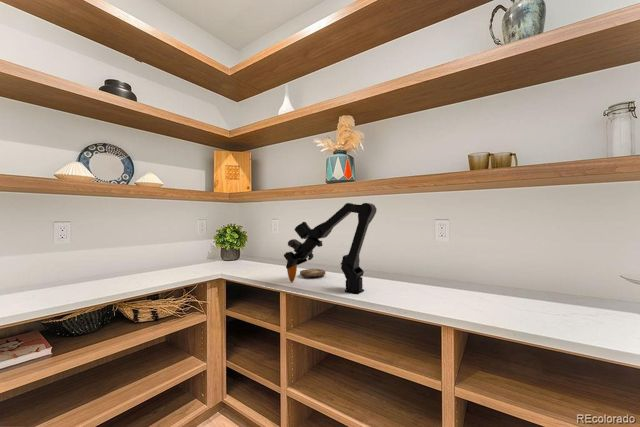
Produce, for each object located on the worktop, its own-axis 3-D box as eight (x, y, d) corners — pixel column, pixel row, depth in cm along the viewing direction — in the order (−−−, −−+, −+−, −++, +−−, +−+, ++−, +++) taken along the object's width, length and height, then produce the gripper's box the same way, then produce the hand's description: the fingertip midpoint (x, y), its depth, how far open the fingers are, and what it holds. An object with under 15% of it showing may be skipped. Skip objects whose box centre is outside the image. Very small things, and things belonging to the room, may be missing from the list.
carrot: (297, 281, 135) (297, 251, 135) (296, 283, 130) (296, 253, 131) (287, 281, 135) (287, 251, 135) (286, 283, 130) (286, 253, 131)
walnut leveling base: (330, 275, 148) (330, 270, 148) (315, 280, 137) (315, 275, 137) (310, 272, 156) (310, 267, 156) (294, 276, 145) (294, 271, 145)
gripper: (308, 232, 139) (290, 252, 145) (287, 235, 123) (268, 257, 128) (321, 248, 135) (303, 268, 141) (301, 253, 119) (281, 275, 124)
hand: (289, 267), depth 134 cm, fingers closed on carrot, 5 cm apart
